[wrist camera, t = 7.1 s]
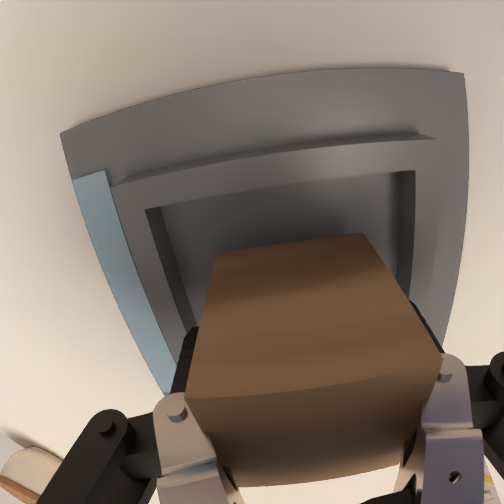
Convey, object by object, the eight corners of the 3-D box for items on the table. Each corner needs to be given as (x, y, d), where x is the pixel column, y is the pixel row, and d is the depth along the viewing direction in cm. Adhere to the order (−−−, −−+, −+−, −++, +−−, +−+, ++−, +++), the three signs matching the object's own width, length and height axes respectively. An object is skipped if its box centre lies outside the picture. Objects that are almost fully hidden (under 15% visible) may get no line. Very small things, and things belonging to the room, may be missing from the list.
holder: (72, 130, 11) (37, 139, 9) (450, 73, 10) (486, 73, 7) (174, 395, 18) (167, 427, 16) (428, 360, 17) (443, 389, 14)
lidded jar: (11, 442, 27) (-11, 491, 19) (23, 428, 24) (-5, 490, 15) (73, 481, 31) (58, 530, 22) (99, 475, 27) (82, 537, 19)
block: (216, 252, 11) (184, 398, 5) (362, 232, 10) (443, 359, 5) (243, 356, 13) (236, 487, 8) (359, 340, 13) (398, 464, 7)
